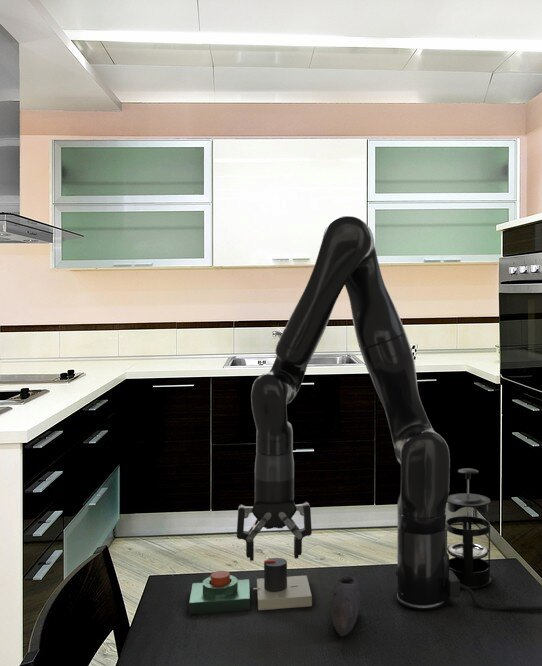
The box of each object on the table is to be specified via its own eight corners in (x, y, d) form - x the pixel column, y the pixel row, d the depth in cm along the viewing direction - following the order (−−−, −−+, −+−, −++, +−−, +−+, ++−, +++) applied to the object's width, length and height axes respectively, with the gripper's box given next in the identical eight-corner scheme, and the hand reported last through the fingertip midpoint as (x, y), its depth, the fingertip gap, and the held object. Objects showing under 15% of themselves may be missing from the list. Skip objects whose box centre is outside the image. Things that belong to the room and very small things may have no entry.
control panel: (306, 584, 137) (306, 574, 137) (311, 606, 127) (311, 595, 127) (252, 588, 135) (252, 578, 135) (253, 610, 125) (253, 599, 125)
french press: (492, 592, 133) (493, 476, 132) (444, 589, 134) (444, 475, 134) (489, 569, 145) (489, 463, 144) (444, 567, 146) (445, 461, 145)
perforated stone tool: (356, 645, 112) (355, 604, 112) (324, 644, 113) (324, 603, 113) (362, 605, 127) (362, 569, 127) (334, 604, 128) (334, 568, 128)
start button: (230, 578, 131) (229, 570, 131) (229, 586, 128) (229, 577, 128) (211, 580, 131) (211, 571, 131) (210, 587, 127) (210, 578, 127)
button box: (249, 590, 135) (249, 570, 134) (249, 610, 126) (249, 588, 126) (192, 594, 133) (192, 574, 133) (189, 614, 124) (188, 593, 124)
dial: (286, 582, 134) (286, 555, 133) (287, 591, 129) (287, 563, 129) (263, 583, 133) (263, 556, 133) (264, 592, 128) (264, 565, 128)
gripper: (236, 481, 125) (236, 567, 126) (313, 478, 127) (313, 563, 128) (236, 471, 132) (236, 553, 133) (309, 469, 135) (308, 549, 135)
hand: (274, 558), depth 131 cm, fingers open, 8 cm apart
